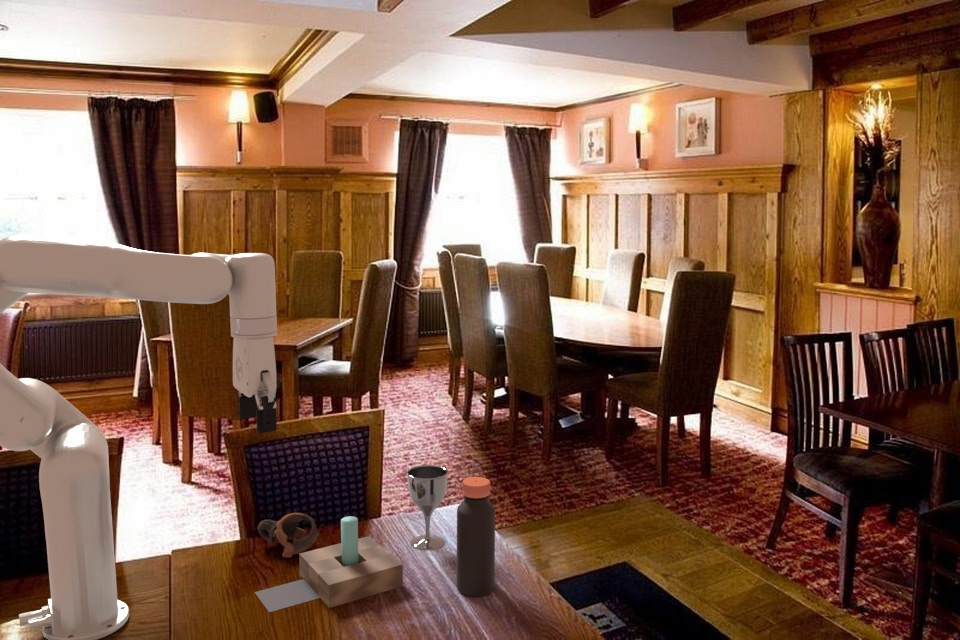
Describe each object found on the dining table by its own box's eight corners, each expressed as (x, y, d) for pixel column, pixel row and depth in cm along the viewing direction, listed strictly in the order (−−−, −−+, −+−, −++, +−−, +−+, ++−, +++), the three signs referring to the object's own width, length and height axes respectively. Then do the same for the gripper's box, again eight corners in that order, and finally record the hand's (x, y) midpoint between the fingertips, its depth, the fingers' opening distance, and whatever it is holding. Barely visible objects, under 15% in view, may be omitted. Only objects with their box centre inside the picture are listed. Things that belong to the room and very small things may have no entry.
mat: (269, 614, 131) (269, 612, 131) (254, 594, 137) (254, 592, 137) (325, 598, 136) (325, 596, 136) (308, 579, 143) (308, 577, 143)
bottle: (490, 599, 136) (491, 489, 133) (452, 595, 138) (452, 486, 134) (497, 581, 143) (498, 476, 140) (461, 577, 144) (461, 473, 141)
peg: (346, 588, 140) (344, 524, 138) (339, 581, 142) (338, 518, 141) (361, 583, 142) (360, 520, 140) (354, 576, 144) (353, 515, 142)
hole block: (329, 609, 132) (328, 585, 132) (299, 576, 144) (299, 553, 143) (402, 588, 140) (402, 564, 139) (369, 558, 152) (368, 536, 151)
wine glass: (454, 539, 160) (455, 469, 158) (432, 554, 153) (431, 481, 151) (423, 531, 164) (423, 462, 162) (400, 544, 157) (399, 473, 155)
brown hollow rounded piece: (318, 538, 162) (324, 512, 157) (307, 576, 154) (314, 551, 149) (260, 525, 160) (265, 499, 156) (246, 563, 152) (251, 537, 148)
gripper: (217, 321, 137) (221, 416, 140) (247, 336, 123) (251, 441, 126) (259, 318, 141) (263, 410, 144) (293, 332, 127) (296, 433, 130)
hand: (257, 424), depth 135 cm, fingers open, 9 cm apart
